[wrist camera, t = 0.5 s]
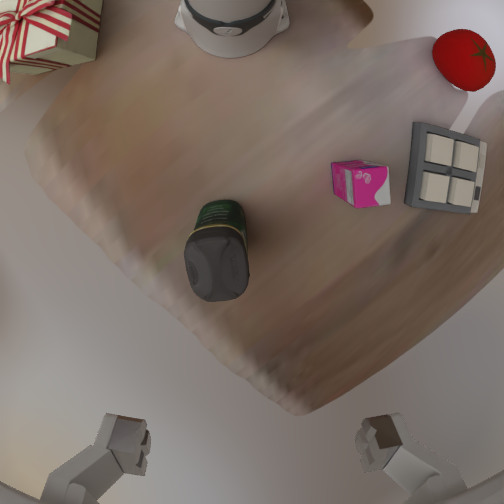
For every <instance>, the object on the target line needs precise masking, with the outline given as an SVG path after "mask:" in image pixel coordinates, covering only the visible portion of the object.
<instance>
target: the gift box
mask: <svg viewBox="0 0 504 504" xmlns="http://www.w3.org/2000/svg"><path fill="white" fill-rule="evenodd" d="M102 4H103V0H0V78H1V79H2V80H3V81H5V82H6V83H8V84H10V72H17V73H25V74H32V75H37V74H41V73H44V72H48V71H52V70H57V69H60V68H63V67H69V66H72V65H77V64H82V63H87V62H91V61H95V60H96V50H97V41H98V33H99V27H100V18H101V10H102Z"/></svg>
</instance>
